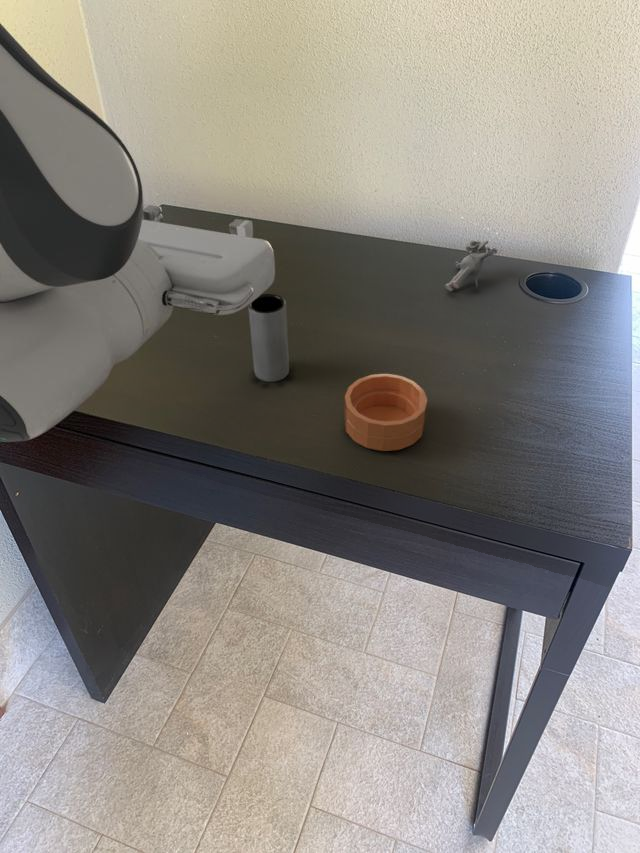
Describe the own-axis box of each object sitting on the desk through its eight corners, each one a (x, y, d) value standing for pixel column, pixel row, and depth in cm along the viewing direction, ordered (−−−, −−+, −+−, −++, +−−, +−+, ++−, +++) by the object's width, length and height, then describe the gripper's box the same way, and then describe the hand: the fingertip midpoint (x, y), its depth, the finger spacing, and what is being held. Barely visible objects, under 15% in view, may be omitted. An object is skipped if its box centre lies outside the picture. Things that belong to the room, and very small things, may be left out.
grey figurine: (421, 281, 106) (453, 243, 109) (445, 309, 108) (477, 270, 111) (458, 264, 97) (492, 223, 100) (484, 295, 99) (517, 254, 101)
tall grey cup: (248, 377, 88) (241, 308, 81) (263, 358, 91) (258, 290, 84) (280, 385, 87) (276, 315, 80) (294, 365, 90) (291, 297, 83)
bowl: (394, 466, 75) (396, 436, 72) (329, 432, 80) (328, 402, 77) (438, 423, 81) (442, 393, 78) (374, 393, 85) (376, 364, 82)
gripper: (228, 277, 49) (302, 202, 58) (-1, 234, 54) (100, 172, 64) (237, 350, 53) (304, 268, 63) (23, 303, 59) (115, 235, 68)
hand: (199, 219), depth 63 cm, fingers open, 8 cm apart
